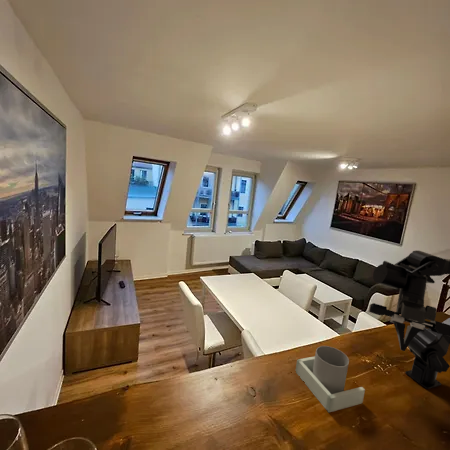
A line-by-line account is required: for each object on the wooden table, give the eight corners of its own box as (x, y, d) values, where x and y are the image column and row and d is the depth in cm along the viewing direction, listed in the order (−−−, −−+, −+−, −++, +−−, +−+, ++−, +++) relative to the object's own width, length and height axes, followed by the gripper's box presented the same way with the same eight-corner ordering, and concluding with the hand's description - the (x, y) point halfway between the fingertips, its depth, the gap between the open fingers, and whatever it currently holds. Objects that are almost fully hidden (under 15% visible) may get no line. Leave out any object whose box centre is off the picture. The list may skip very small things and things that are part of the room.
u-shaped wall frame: (324, 365, 78) (326, 354, 77) (362, 403, 65) (364, 389, 64) (295, 371, 74) (297, 359, 74) (328, 412, 61) (331, 398, 61)
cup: (319, 401, 65) (325, 366, 63) (305, 376, 73) (310, 345, 71) (349, 400, 66) (356, 366, 64) (332, 376, 74) (338, 345, 72)
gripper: (376, 281, 69) (365, 339, 66) (466, 304, 59) (458, 372, 57) (373, 285, 78) (363, 336, 75) (450, 305, 69) (442, 363, 66)
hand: (402, 350), depth 68 cm, fingers closed
